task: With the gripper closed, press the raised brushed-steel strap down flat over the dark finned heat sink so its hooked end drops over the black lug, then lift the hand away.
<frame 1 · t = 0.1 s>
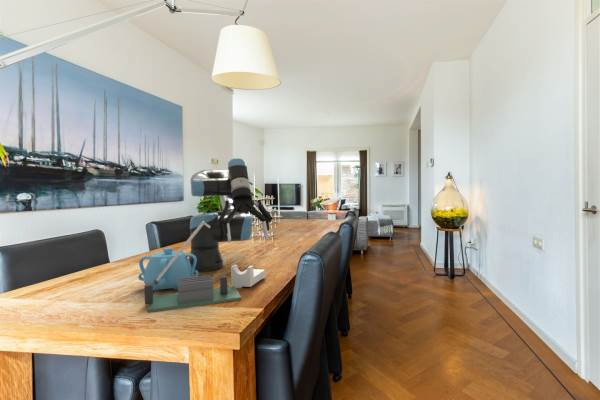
hand: (248, 239, 118), 15 cm above the table, tool tilted 35°, fingers open, 13 cm apart
heatsink board: (195, 299, 100), on the table
strap: (182, 253, 99), point 15 cm above the table, hinge at 50.0°
decorative pot: (169, 286, 114), on the table
bracket: (249, 283, 117), on the table
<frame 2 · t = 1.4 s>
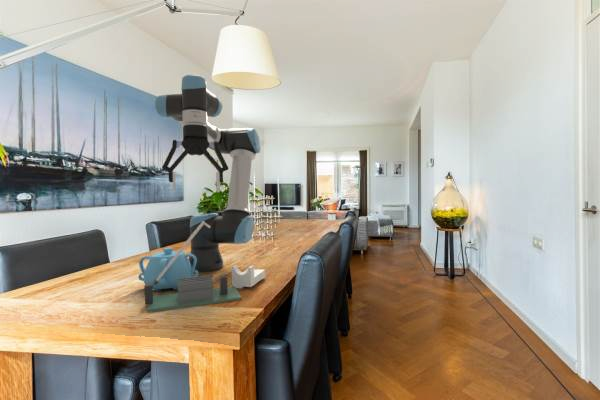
hand: (196, 192, 104), 33 cm above the table, tool pointing down, fingers open, 13 cm apart
nothing on the table moved.
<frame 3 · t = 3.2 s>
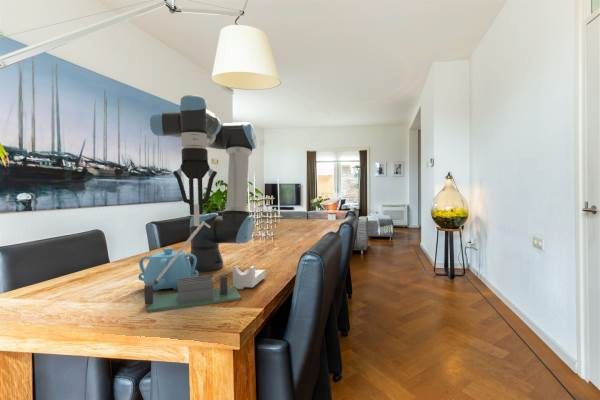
hand: (196, 225, 100), 23 cm above the table, tool pointing down, fingers closed
strap: (182, 253, 99), point 15 cm above the table, hinge at 50.0°, touching gripper
everything else where it was.
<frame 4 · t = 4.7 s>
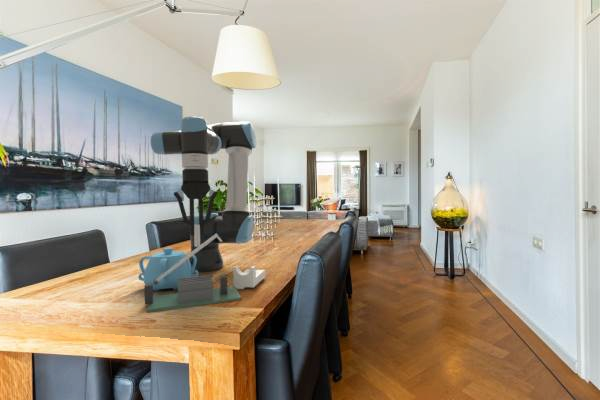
hand: (197, 245, 100), 17 cm above the table, tool pointing down, fingers closed
strap: (188, 259, 99), point 12 cm above the table, hinge at 34.9°, touching gripper
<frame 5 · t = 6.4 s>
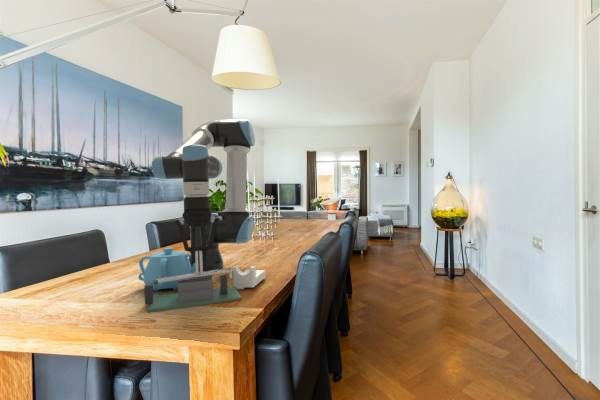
hand: (199, 272, 100), 8 cm above the table, tool pointing down, fingers closed, pressing on strap
strap: (194, 278, 100), point 7 cm above the table, hinge at 2.8°, touching gripper
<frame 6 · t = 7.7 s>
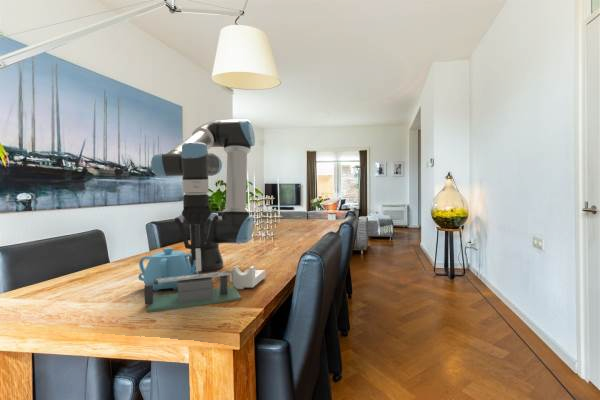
hand: (198, 270, 101), 9 cm above the table, tool pointing down, fingers closed
strap: (194, 279, 100), point 6 cm above the table, hinge at 0.2°
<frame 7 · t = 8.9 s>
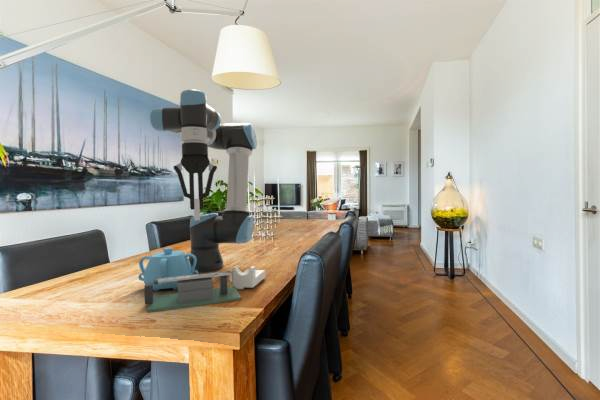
hand: (197, 219, 100), 24 cm above the table, tool pointing down, fingers closed
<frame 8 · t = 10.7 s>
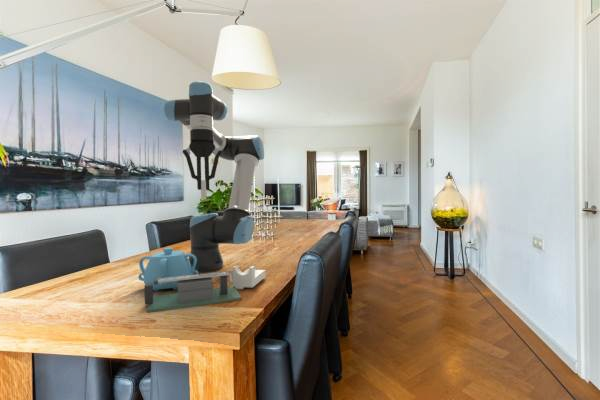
hand: (203, 199, 111), 30 cm above the table, tool pointing down, fingers closed
at the end: strap at +0° (first picture: +50°); the gripper is holding nothing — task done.
